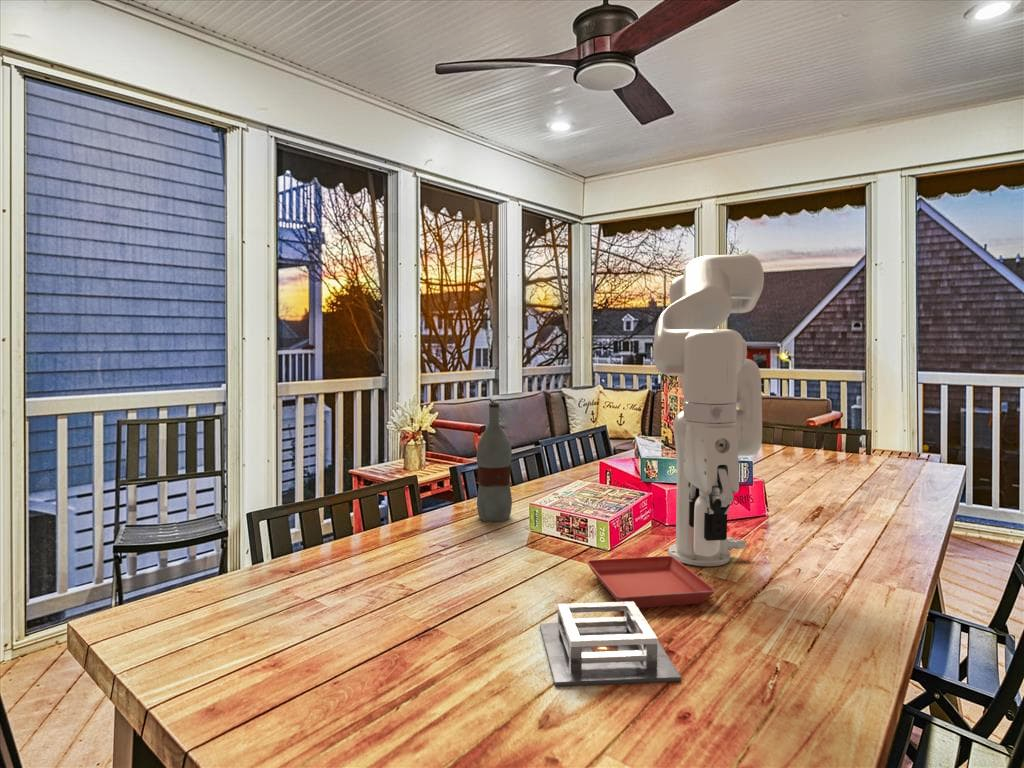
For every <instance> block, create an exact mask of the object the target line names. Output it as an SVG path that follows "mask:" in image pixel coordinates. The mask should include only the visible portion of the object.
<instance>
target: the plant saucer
mask: <svg viewBox="0 0 1024 768" xmlns="http://www.w3.org/2000/svg"><path fill="white" fill-rule="evenodd" d="M586 563H587V565H588V567H589V568H590V570H591V571H592V572H593V574H594V576H595V577H596V578H597V580H598V581H599V582H600V583H601V585H603V586H604V588H605V589H607V591H608V592H609V593H610V594H611V596H612V597H613V599H615V600H616V601H615V602H631V601H634V603H635V604H636V606H637V607H638V609H644V608H653V607H654V608H655V607H671V606H681V605H682V606H683V605H684V606H685V605H694V604H701V603H703V602H704V601H706V600H708V598H710V597H711V596H712V595H713V594H714V593H715V592H716V589H715V588H714V587H712V586H711V585H710V584H709V583H707V582H706V581H705V580H704V579H702V578H701V577H700V576H699V575H697V574H696V573H695V572H693V571H692V570H691V569H690V568H688V567H687V566H686V565H684V563H681V562H679V561H678V560H677V559H675V558H674V557H672V556H669V555H657V556H642V557H641V556H640V557H623V558H607V559H606V558H605V559H590V560H587V561H586Z"/></svg>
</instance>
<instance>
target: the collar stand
mask: <svg viewBox="0 0 1024 768" xmlns="http://www.w3.org/2000/svg"><path fill="white" fill-rule="evenodd" d="M598 612H599V613H600V612H601V613H605V612H608V613H609V612H623V613H624V614H623V616H608V617H607V616H602V617H600V616H599V617H581V618H580V617H578V618H577V617H575V618H573V613H598ZM539 629H540V633H541V636H542V640H543V641H542V642H543V644H544V648H545V652H546V657H547V660H549V661H548V663H549V669H550V671H551V675H552V680H553V684H554V687H578V686H579V687H580V686H598V685H599V686H601V685H602V686H604V685H623V684H625V685H627V684H646V683H647V684H648V683H649V684H651V683H652V684H653V683H671V682H682V676H681V674H680V672H679V671H678V670H677V668H676V666H675V665H674V663H673V662H672V660H671V659H670V657H669V656H668V654H667V653H666V650H664V648H663V647H662V645H661V643H660V642H659V640H658V638H659V637H657V635H656V634H655V632H654V630H653V629H652V627H651V625H649V623H648V621H647V619H646V618H645V616H644V615H643V614H642V612H641V611H640V608H638V607H637V606H636V604H635V603H634V601H631V602H617V601H608V602H607V601H606V602H578V603H577V602H576V603H575V602H574V603H557V622H547V623H546V622H543V623H539Z"/></svg>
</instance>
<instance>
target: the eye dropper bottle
mask: <svg viewBox="0 0 1024 768" xmlns="http://www.w3.org/2000/svg"><path fill="white" fill-rule="evenodd" d="M712 490H713V491H712V492H716V488H712ZM699 495H700V496H699V497H698V498H697V500H696V502H695V508H694V553H695V554H697V555H701V556H706V557H710V556H713V555H715V554H717V553H718V551H719V547H720V540H714V541H707V540H706V539H705V538H704V513H707V505H706V495H705V492H703V491H701V490H700V489H699ZM712 499H713V503H714V501H715V500H716V499H718V498H717V497H715V496H712Z"/></svg>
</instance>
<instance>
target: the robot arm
mask: <svg viewBox="0 0 1024 768" xmlns="http://www.w3.org/2000/svg"><path fill="white" fill-rule="evenodd" d="M764 273H765V272H764V269H763V265H762V263H761V262H760V260H759V258H758V257H756V256H755V255H753V254H751V253H737V254H715V255H714V254H712V255H711V254H709V255H703V256H698V257H696V258H694V259H692V260H690V261H689V262H688V263H687V265H685V267H684V270H683V274H682V275H679V276H676V277H675V278H674V279H672V281H671V282H670V285H669V302H670V304H669V305H668V307H666V308H665V309H664V310H663V311H662V312H661V313H660V315H659V316H658V318H657V321H656V325H655V329H654V338H653V346H652V347H653V348H652V350H653V352H652V356H653V362H654V365H655V369H657V371H658V372H660V374H663V375H665V376H672V377H673V376H674V377H675V376H676V377H679V376H680V383H681V385H680V386H681V392H682V395H683V407H682V408H683V409H682V410H681V411H679V412H678V413H677V414H676V416H675V417H674V420H673V423H672V425H673V428H672V429H673V431H672V432H673V438H674V447H675V455H676V457H675V458H676V510H675V512H676V513H675V514H676V517H675V518H676V520H675V526H676V528H675V543H673V544H671V545H670V546H669V547H668V551H667V553H668V556H672V557H674V558H675V559H677V560H678V561H679V562H681V563H682V564H685V565H689V566H697V567H719V566H722V565H725V564H728V563H729V562H730V560H731V553H730V552H731V550H745V549H746V547H747V544H746V543H747V542H746V541H745V539H735V537H731V536H729V537H728V536H727V535H728V515H729V512H730V511H729V508H730V505H731V503H732V502H733V500H734V494H737V493H738V491H739V489H740V488H739V486H740V477H739V475H740V474H739V472H740V470H739V467H740V466H739V463H740V462H739V456H741V457H743V456H745V457H746V456H754V455H756V454H757V453H758V452H759V451H760V450H761V447H762V442H763V406H762V405H763V404H762V402H763V401H762V400H763V398H762V397H763V396H762V391H763V390H762V377H761V372H760V367H759V366H758V364H757V362H756V361H754V360H753V359H749V358H747V356H748V350H747V349H748V345H747V341H746V340H745V339H744V338H743V336H742V334H740V333H739V332H738V331H737V330H735V329H732V328H731V329H728V328H718V327H719V326H721V325H722V324H723V323H725V321H727V319H728V318H729V317H730V315H731V314H745V313H748V312H751V311H752V310H753V309H754V308H755V307H756V304H757V303H758V300H759V298H760V297H761V294H762V292H763V288H764V284H765V283H764V282H765V277H764V276H765V275H764ZM737 408H738V409H737ZM712 488H716V492H712V491H713V490H712ZM699 489H700V490H701V491H703V492H705V495H706V505H707V513H704V538H705V539H706V540H707V541H714V540H720V547H719V551H718V553H717V554H715V555H713V556H710V557H706V556H701V555H697V554H695V553H694V508H695V502H696V500H697V498H698V497H699V496H700V495H699ZM712 496H715V497H717V498H718V499H716V500H715V501H714V503H713V499H712Z"/></svg>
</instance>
